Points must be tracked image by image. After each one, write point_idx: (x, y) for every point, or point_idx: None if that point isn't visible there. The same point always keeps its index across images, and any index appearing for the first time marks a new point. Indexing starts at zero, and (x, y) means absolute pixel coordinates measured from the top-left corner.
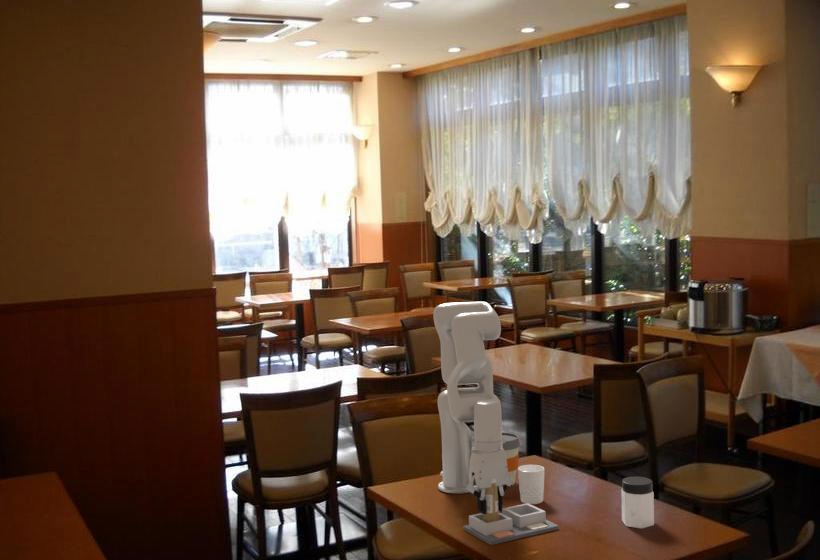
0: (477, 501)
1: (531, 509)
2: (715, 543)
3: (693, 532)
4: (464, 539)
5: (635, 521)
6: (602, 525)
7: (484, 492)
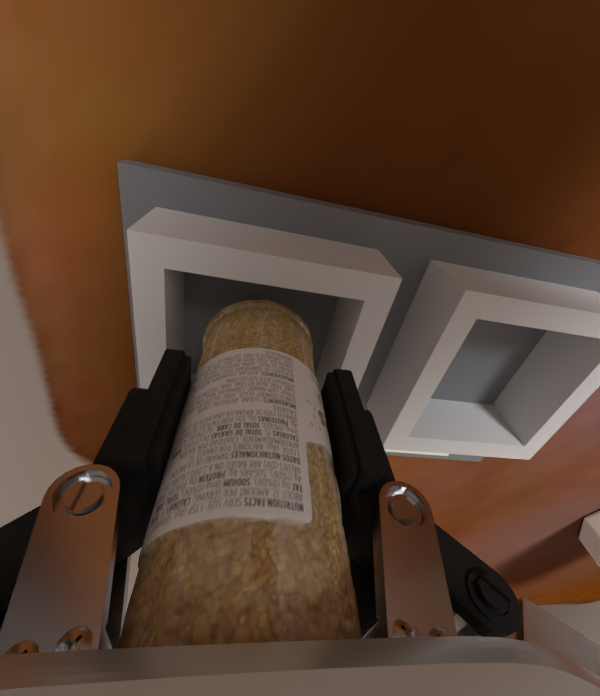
0: (102, 448)
1: (569, 371)
2: (537, 603)
3: (588, 575)
4: (55, 306)
5: (593, 549)
6: (570, 489)
7: (112, 639)
